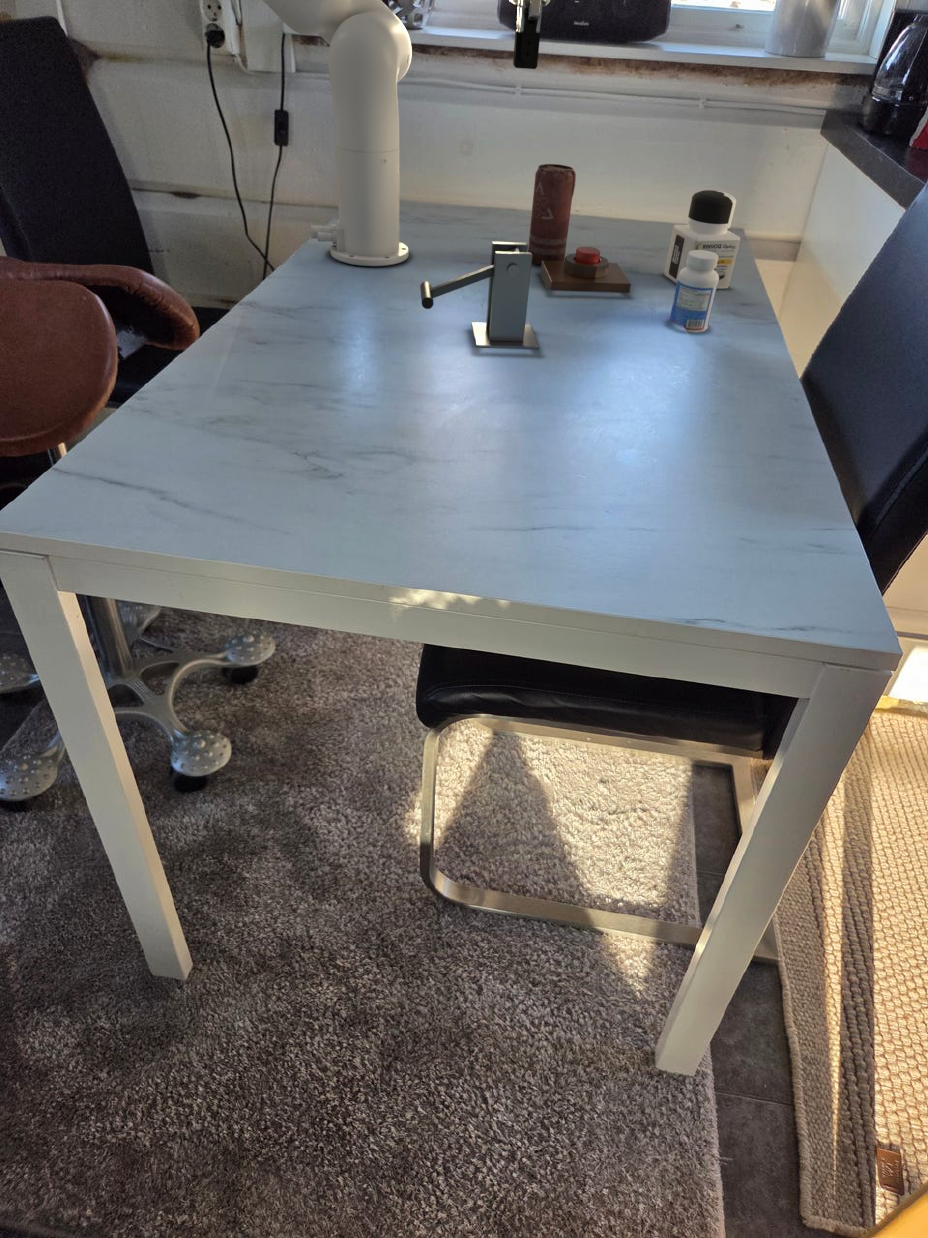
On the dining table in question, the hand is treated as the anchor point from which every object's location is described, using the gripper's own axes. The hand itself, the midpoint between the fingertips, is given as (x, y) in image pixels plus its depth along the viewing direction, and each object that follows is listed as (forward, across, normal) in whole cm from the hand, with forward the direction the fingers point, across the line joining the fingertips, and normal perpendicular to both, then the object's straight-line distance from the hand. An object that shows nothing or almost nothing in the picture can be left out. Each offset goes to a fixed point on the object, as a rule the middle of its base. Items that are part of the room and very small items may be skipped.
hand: (524, 67), depth 115 cm
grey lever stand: (+27, +31, -4) cm, 41 cm away
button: (+23, +7, +11) cm, 27 cm away
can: (+27, -5, +7) cm, 29 cm away
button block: (+27, +7, +11) cm, 30 cm away
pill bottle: (+27, +23, +23) cm, 42 cm away
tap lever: (+20, +31, -8) cm, 38 cm away
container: (+27, +3, +30) cm, 41 cm away
